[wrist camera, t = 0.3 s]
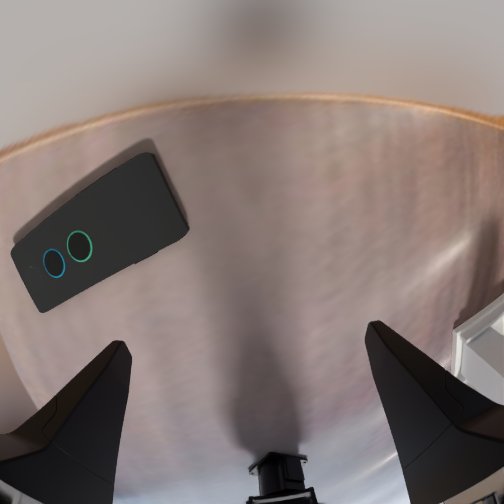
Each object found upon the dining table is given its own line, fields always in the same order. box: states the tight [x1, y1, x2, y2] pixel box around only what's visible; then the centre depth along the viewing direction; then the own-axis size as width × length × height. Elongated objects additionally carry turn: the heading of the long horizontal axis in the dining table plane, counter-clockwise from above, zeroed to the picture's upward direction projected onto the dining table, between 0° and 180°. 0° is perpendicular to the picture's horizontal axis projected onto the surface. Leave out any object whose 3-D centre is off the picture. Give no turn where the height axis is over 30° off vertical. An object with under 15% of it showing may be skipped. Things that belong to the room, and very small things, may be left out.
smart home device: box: [11, 153, 189, 313], centre depth 23 cm, size 8×2×20 cm
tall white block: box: [461, 327, 504, 405], centre depth 23 cm, size 5×6×11 cm
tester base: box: [451, 293, 504, 391], centre depth 28 cm, size 17×25×5 cm
